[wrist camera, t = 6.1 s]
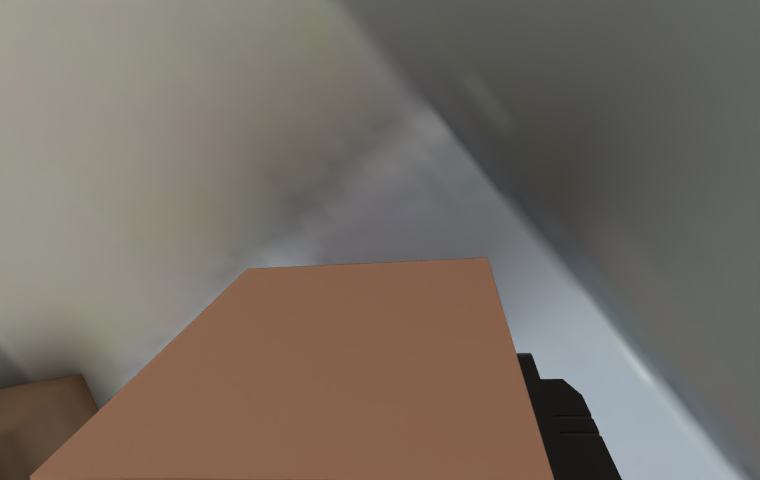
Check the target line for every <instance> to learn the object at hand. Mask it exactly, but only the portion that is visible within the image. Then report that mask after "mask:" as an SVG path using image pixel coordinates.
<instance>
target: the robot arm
mask: <svg viewBox="0 0 760 480" xmlns="http://www.w3.org/2000/svg"><path fill="white" fill-rule="evenodd" d="M516 355H517V358H518V361H519V365H520V368H521V371H522V375H523V378H524V381H525V385H526V388H527V391H528V395H529V398H530V401H531V405H532V408H533V411H534V415H535V418H536V421H537V425H538V428H539V431H540V435H541V438H542V441H543V444H544V448H545V451H546V454H547V458H548V461H549V464H550V468H551V471H552V474H553V478H554V480H622V479H621V477H620V475H619V473H618V471H617V468H616V466H615V464H614V462H613V460H612V458H611V456H610V454H609V451H608V449H607V447H606V445H605V443H604V441H603V439H602V437H601V436H600V435H599V430H598V428H597V426H596V424H595V422H594V420H593V419H592V418H591V413H590V411H589V409H588V407H587V405H586V403H585V401H584V398H583V396H582V395H581V394H580V393H579V392H577V391H576V390H575V389H574V388H573V387H571V386H570V385H569V384H568V383H567V382H565V381H564V380H563V379H540V376H539V374H538V371H537V368H536V365H535V362H534V359H533V357H532V354H531V353H516Z"/></svg>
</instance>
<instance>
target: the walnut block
mask: <svg viewBox="0 0 760 480" xmlns="http://www.w3.org/2000/svg"><path fill="white" fill-rule="evenodd" d="M98 411H99V410H98V408H97V406H96V404H95V402H94V399H93V397H92V395H91V393H90V391H89V389H88V386H87V384H86V382H85V380H84V378H83V376H82V374H78V375H73V376H68V377H62V378H57V379H51V380H46V381H40V382H35V383H30V384H24V385H19V386H13V387H8V388H2V389H0V480H30V476H31V475H32V474H33V473H34V472H35V471H36V470H37V469H38V468H39V467H40V466H41V465H42V464H43V463H45V462H46V461H47V460H48V459H49V458H50V457H51V456H52V455H53V454H54V453H55V452H56V451H57V450H58V449H59V448H60V447H61V446H62V445H63V444H64V443H65V442H67V441H68V440H69V439H70V438H71V437H72V436H73V435H74V434H75V433H76V432H77V431H78V430H79V429H80V428H81V427H82V426H83V425H84V424H85V423H86V422H88V421H89V420H90V419H91V418H92V417H93V416H94V415H95V414H96V413H97V412H98Z"/></svg>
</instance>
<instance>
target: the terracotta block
mask: <svg viewBox="0 0 760 480" xmlns="http://www.w3.org/2000/svg"><path fill="white" fill-rule="evenodd" d="M30 480H554V478H553V474H552V471H551V468H550V464H549V461H548V458H547V454H546V451H545V448H544V444H543V441H542V438H541V435H540V431H539V428H538V425H537V421H536V418H535V415H534V411H533V408H532V405H531V401H530V398H529V395H528V391H527V388H526V385H525V381H524V378H523V375H522V371H521V368H520V365H519V361H518V358H517V355H516V351H515V348H514V345H513V341H512V338H511V335H510V331H509V328H508V325H507V321H506V318H505V315H504V311H503V308H502V305H501V301H500V298H499V295H498V291H497V288H496V285H495V281H494V278H493V275H492V271H491V268H490V265H489V261H488V258H468V259H447V260H426V261H404V262H383V263H361V264H340V265H319V266H297V267H276V268H254V269H247V270H246V271H245V272H244V273H243V274H242V275H241V276H240V277H239V278H238V279H237V280H235V281H234V282H233V283H232V284H231V285H230V286H229V287H228V288H227V289H226V290H225V291H224V292H223V293H222V294H221V295H220V296H219V297H218V298H217V299H216V300H214V301H213V302H212V303H211V304H210V305H209V306H208V307H207V308H206V309H205V310H204V311H203V312H202V313H201V314H200V315H199V316H198V317H197V318H196V319H195V320H193V321H192V322H191V323H190V324H189V325H188V326H187V327H186V328H185V329H184V330H183V331H182V332H181V333H180V334H179V335H178V336H177V337H176V338H175V339H174V340H173V341H171V342H170V343H169V344H168V345H167V346H166V347H165V348H164V349H163V350H162V351H161V352H160V353H159V354H158V355H157V356H156V357H155V358H154V359H153V360H152V361H150V362H149V363H148V364H147V365H146V366H145V367H144V368H143V369H142V370H141V371H140V372H139V373H138V374H137V375H136V376H135V377H134V378H133V379H132V380H131V381H129V382H128V383H127V384H126V385H125V386H124V387H123V388H122V389H121V390H120V391H119V392H118V393H117V394H116V395H115V396H114V397H113V398H112V399H111V400H110V401H109V402H107V403H106V404H105V405H104V406H103V407H102V408H101V409H100V410H99V411H98V412H97V413H96V414H95V415H94V416H93V417H92V418H91V419H90V420H89V421H88V422H86V423H85V424H84V425H83V426H82V427H81V428H80V429H79V430H78V431H77V432H76V433H75V434H74V435H73V436H72V437H71V438H70V439H69V440H68V441H67V442H65V443H64V444H63V445H62V446H61V447H60V448H59V449H58V450H57V451H56V452H55V453H54V454H53V455H52V456H51V457H50V458H49V459H48V460H47V461H46V462H45V463H43V464H42V465H41V466H40V467H39V468H38V469H37V470H36V471H35V472H34V473H33V474H32V475H31V476H30Z"/></svg>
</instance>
